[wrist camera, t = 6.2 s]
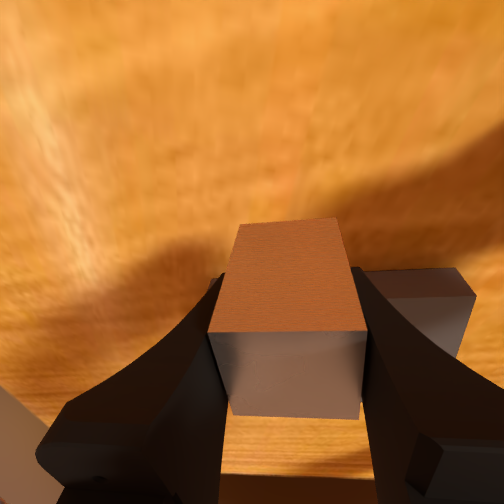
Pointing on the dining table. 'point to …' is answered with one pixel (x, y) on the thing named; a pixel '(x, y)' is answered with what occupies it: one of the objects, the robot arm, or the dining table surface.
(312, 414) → the square bit
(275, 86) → the dining table surface
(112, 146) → the dining table surface
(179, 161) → the dining table surface
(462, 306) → the socket block
